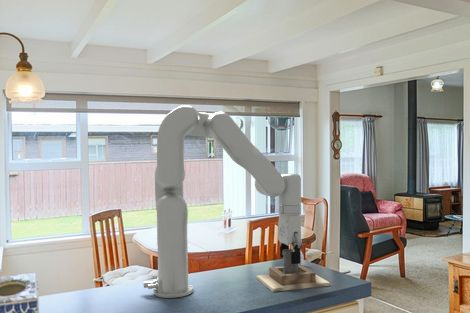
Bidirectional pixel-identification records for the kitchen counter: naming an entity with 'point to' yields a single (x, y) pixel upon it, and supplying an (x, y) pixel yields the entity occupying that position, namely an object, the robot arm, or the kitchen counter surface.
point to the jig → (291, 279)
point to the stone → (289, 262)
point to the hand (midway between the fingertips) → (290, 260)
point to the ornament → (301, 258)
